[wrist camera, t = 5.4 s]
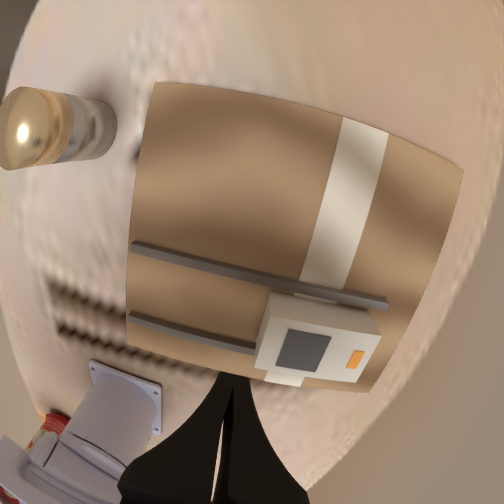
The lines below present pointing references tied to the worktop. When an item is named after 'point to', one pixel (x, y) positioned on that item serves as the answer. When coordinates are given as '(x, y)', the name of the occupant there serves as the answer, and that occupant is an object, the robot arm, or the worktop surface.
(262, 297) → the board
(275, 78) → the worktop surface
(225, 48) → the worktop surface
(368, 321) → the block
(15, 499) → the liquor
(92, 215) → the worktop surface
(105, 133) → the marbled round peg
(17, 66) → the worktop surface
